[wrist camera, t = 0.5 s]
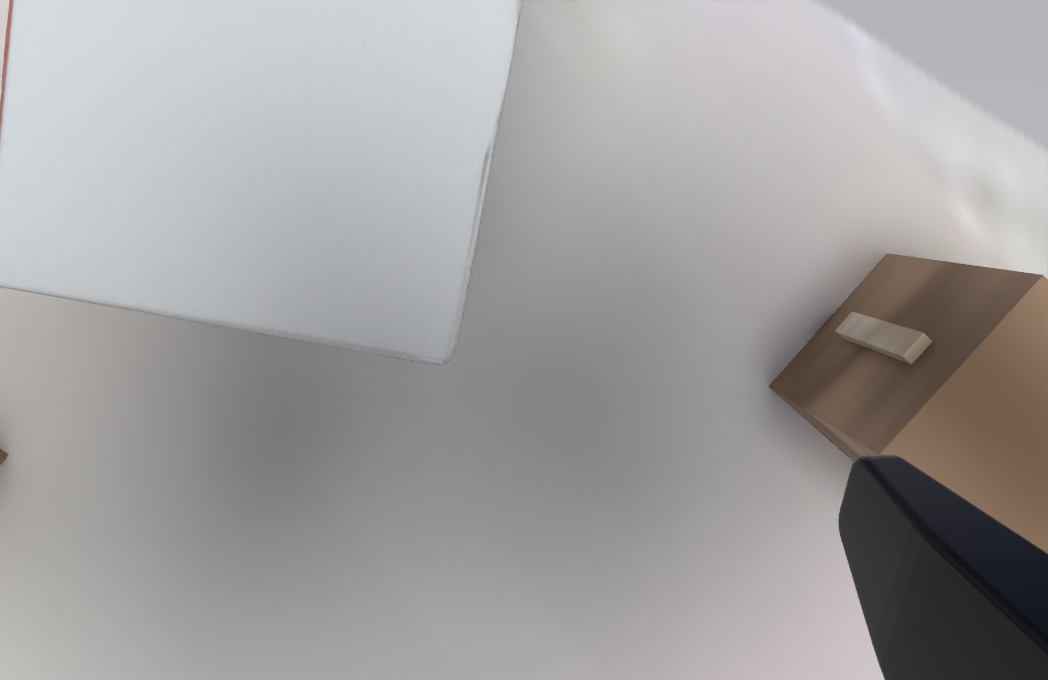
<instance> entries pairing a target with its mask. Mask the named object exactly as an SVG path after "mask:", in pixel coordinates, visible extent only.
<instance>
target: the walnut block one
mask: <svg viewBox="0 0 1048 680" xmlns="http://www.w3.org/2000/svg"><path fill="white" fill-rule="evenodd" d="M769 387H770V388H771V389H772V390H773V391H774V392H776V393H777V394H778V395H779V396H780V397H781V398H782V399H784V400H785V401H786V402H787V403H788V404H789V405H790V406H791V407H793V408H794V409H795V410H796V411H797V412H798V413H799V414H801V415H802V416H803V417H804V418H805V419H806V420H807V421H809V422H810V423H811V424H812V425H813V426H814V427H815V428H817V429H818V430H819V431H820V432H821V433H822V434H823V435H824V436H826V437H827V438H828V439H829V440H830V441H831V442H832V443H834V444H835V445H836V446H837V447H838V448H839V449H840V450H842V451H843V452H844V453H845V454H846V455H847V456H848V457H849V458H851V459H852V460H853V461H855V460H856V459H857V458H858V457H860V456H864V455H886V454H892V455H897V456H900V457H901V458H903V459H905V460H906V461H908V462H909V463H911V464H912V465H914V466H915V467H917V468H919V469H920V470H922V471H923V472H925V473H926V474H928V475H929V476H931V477H932V478H934V479H935V480H937V481H938V482H940V483H941V484H943V485H944V486H946V487H947V488H949V489H951V490H952V491H954V492H955V493H957V494H958V495H960V496H961V497H963V498H964V499H966V500H967V501H969V502H970V503H972V504H973V505H975V506H976V507H978V508H980V509H981V510H983V511H984V512H986V513H987V514H989V515H990V516H992V517H993V518H995V519H996V520H998V521H999V522H1001V523H1002V524H1004V525H1005V526H1007V527H1009V528H1010V529H1012V530H1013V531H1015V532H1016V533H1018V534H1019V535H1021V536H1022V537H1024V538H1025V539H1027V540H1028V541H1030V542H1031V543H1033V544H1034V545H1036V546H1037V547H1039V548H1041V549H1042V550H1044V551H1045V552H1047V553H1048V279H1047V278H1046V277H1045V276H1043V275H1039V274H1031V273H1024V272H1017V271H1010V270H1002V269H995V268H988V267H981V266H973V265H966V264H959V263H952V262H945V261H937V260H930V259H923V258H916V257H908V256H901V255H894V254H887V255H886V256H885V257H884V258H883V259H882V260H881V261H880V262H879V263H878V265H877V266H876V267H875V268H874V269H873V270H872V271H871V272H870V274H869V275H868V276H867V277H866V278H865V279H864V280H863V281H862V283H861V284H860V285H859V286H858V287H857V288H856V289H855V290H854V292H853V293H852V294H851V295H850V296H849V297H848V298H847V299H846V301H845V302H844V303H843V304H842V305H841V306H840V307H839V308H838V309H837V311H836V312H835V313H834V314H833V315H832V316H831V317H830V318H829V320H828V321H827V322H826V323H825V324H824V325H823V326H822V327H821V329H820V330H819V331H818V332H817V333H816V334H815V335H814V336H813V338H812V339H811V340H810V341H809V342H808V343H807V344H806V345H805V347H804V348H803V349H802V350H801V351H800V352H799V353H798V354H797V356H796V357H795V358H794V359H793V360H792V361H791V362H790V363H789V364H788V366H787V367H786V368H785V369H784V370H783V371H782V372H781V373H780V375H779V376H778V377H777V378H776V379H775V380H774V381H773V382H772V384H771V385H770V386H769Z"/></svg>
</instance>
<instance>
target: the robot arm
mask: <svg viewBox="0 0 1048 680" xmlns="http://www.w3.org/2000/svg"><path fill="white" fill-rule="evenodd" d="M839 532H840V536H841V540H842V543H843V547H844V550H845V554H846V557H847V560H848V564H849V567H850V570H851V574H852V577H853V580H854V584H855V587H856V590H857V594H858V597H859V600H860V604H861V607H862V611H863V614H864V617H865V621H866V624H867V627H868V631H869V634H870V637H871V641H872V644H873V647H874V650H875V653H876V656H877V659H878V662H879V665H880V668H881V671H882V673H883V676H884V678H885V680H1048V553H1047V552H1045V551H1044V550H1042V549H1041V548H1039V547H1037V546H1036V545H1034V544H1033V543H1031V542H1030V541H1028V540H1027V539H1025V538H1024V537H1022V536H1021V535H1019V534H1018V533H1016V532H1015V531H1013V530H1012V529H1010V528H1009V527H1007V526H1005V525H1004V524H1002V523H1001V522H999V521H998V520H996V519H995V518H993V517H992V516H990V515H989V514H987V513H986V512H984V511H983V510H981V509H980V508H978V507H976V506H975V505H973V504H972V503H970V502H969V501H967V500H966V499H964V498H963V497H961V496H960V495H958V494H957V493H955V492H954V491H952V490H951V489H949V488H947V487H946V486H944V485H943V484H941V483H940V482H938V481H937V480H935V479H934V478H932V477H931V476H929V475H928V474H926V473H925V472H923V471H922V470H920V469H919V468H917V467H915V466H914V465H912V464H911V463H909V462H908V461H906V460H905V459H903V458H901V457H900V456H897V455H892V454H886V455H864V456H860V457H858V458H857V459H856V460H855V461H854V463H853V465H852V467H851V471H850V474H849V478H848V482H847V486H846V489H845V493H844V497H843V500H842V504H841V508H840V512H839Z"/></svg>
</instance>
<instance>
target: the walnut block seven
mask: <svg viewBox="0 0 1048 680" xmlns="http://www.w3.org/2000/svg"><path fill="white" fill-rule="evenodd" d="M7 456H8V455H7V454H6V453H5V452H3V451H2V450H1V449H0V465H1V464H2V462H3V461H4V460H5V459H6V457H7Z"/></svg>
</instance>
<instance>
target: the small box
mask: <svg viewBox="0 0 1048 680" xmlns="http://www.w3.org/2000/svg"><path fill="white" fill-rule="evenodd" d="M521 7H522V0H10V2H9V13H8V21H7V29H6V40H5V51H4V63H3V74H2V94H1V101H0V287H2V288H8V289H14V290H20V291H25V292H31V293H37V294H42V295H48V296H54V297H59V298H65V299H71V300H77V301H82V302H88V303H93V304H99V305H104V306H110V307H116V308H121V309H127V310H132V311H138V312H143V313H149V314H154V315H160V316H166V317H171V318H177V319H182V320H188V321H193V322H199V323H205V324H210V325H216V326H222V327H227V328H233V329H239V330H244V331H250V332H255V333H261V334H267V335H272V336H278V337H284V338H289V339H295V340H300V341H305V342H311V343H316V344H322V345H327V346H333V347H338V348H344V349H349V350H355V351H360V352H366V353H371V354H377V355H382V356H388V357H393V358H399V359H405V360H410V361H416V362H421V363H427V364H433V365H444V364H446V363H447V362H448V361H449V360H450V359H451V358H452V357H453V354H454V352H455V349H456V346H457V343H458V338H459V333H460V328H461V324H462V318H463V313H464V308H465V302H466V297H467V292H468V287H469V281H470V276H471V271H472V266H473V260H474V255H475V250H476V244H477V239H478V234H479V229H480V223H481V218H482V213H483V207H484V202H485V197H486V191H487V186H488V181H489V175H490V170H491V165H492V159H493V154H494V149H495V144H496V138H497V133H498V128H499V123H500V118H501V113H502V108H503V102H504V97H505V92H506V87H507V82H508V77H509V72H510V67H511V62H512V56H513V50H514V44H515V38H516V32H517V26H518V22H519V17H520V12H521Z"/></svg>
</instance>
